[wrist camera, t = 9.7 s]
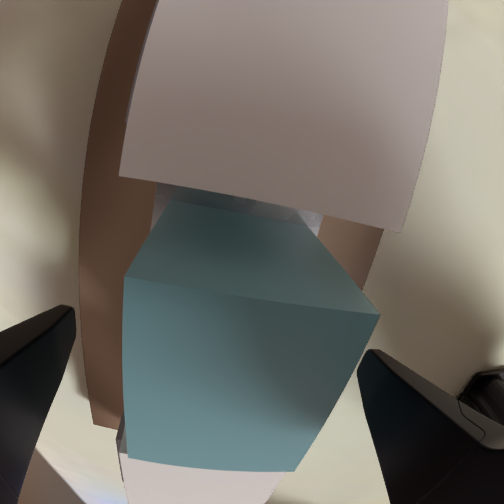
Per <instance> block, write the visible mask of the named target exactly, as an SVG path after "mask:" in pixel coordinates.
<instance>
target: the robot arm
mask: <svg viewBox="0 0 504 504" xmlns="http://www.w3.org/2000/svg"><path fill="white" fill-rule="evenodd" d="M75 337H76V320H75V310H74V308H73V307H71V306H67V305H59V306H56V307H54V308H52V309H50V310H47V311H45V312H43V313H41V314H38V315H36V316H34V317H32V318H30V319H27V320H25V321H23V322H21V323H19V324H16V325H14V326H12V327H10V328H8V329H6V330H3V331H1V332H0V504H17V503H18V497H19V495H20V492H21V488H22V485H23V482H24V478H25V475H26V472H27V469H28V466H29V463H30V460H31V457H32V454H33V451H34V449H35V446H36V443H37V440H38V438H39V435H40V432H41V430H42V427H43V424H44V422H45V419H46V417H47V414H48V412H49V409H50V407H51V404H52V402H53V400H54V397H55V395H56V392H57V390H58V388H59V385H60V383H61V380H62V378H63V375H64V372H65V368H66V365H67V362H68V359H69V356H70V353H71V350H72V347H73V344H74V341H75ZM357 378H358V383H359V388H360V393H361V398H362V403H363V408H364V412H365V416H366V420H367V423H368V426H369V429H370V433H371V436H372V439H373V443H374V446H375V450H376V453H377V457H378V460H379V464H380V467H381V471H382V474H383V478H384V481H385V485H386V489H387V493H388V496H389V500H390V504H504V370H496V371H489V372H480V373H478V374H476V375H475V376H474V377H473V379H472V380H471V382H470V383H469V385H468V386H467V388H466V389H465V391H464V392H463V394H462V395H461V397H460V398H459V400H458V401H457V399H456V398H454V397H452V396H451V395H449V394H448V393H446V392H445V391H443V390H442V389H440V388H438V387H437V386H435V385H434V384H432V383H431V382H429V381H427V380H426V379H424V378H423V377H421V376H420V375H418V374H417V373H415V372H414V371H412V370H410V369H409V368H407V367H406V366H404V365H403V364H401V363H400V362H398V361H397V360H395V359H393V358H392V357H390V356H389V355H387V354H386V353H384V352H383V351H381V350H379V349H369V350H367V351H366V353H365V355H364V357H363V359H362V361H361V363H360V365H359V367H358V369H357Z"/></svg>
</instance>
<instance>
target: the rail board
mask: <svg viewBox="0 0 504 504" xmlns="http://www.w3.org/2000/svg"><path fill="white" fill-rule="evenodd" d="M156 1H157V0H122V3H121V6H120V9H119V12H118V15H117V18H116V21H115V24H114V28H113V31H112V34H111V38H110V41H109V45H108V48H107V52H106V56H105V60H104V64H103V68H102V72H101V76H100V80H99V85H98V89H97V94H96V99H95V104H94V109H93V114H92V120H91V126H90V132H89V138H88V145H87V152H86V160H85V168H84V178H83V188H82V200H81V214H80V234H79V300H80V320H81V334H82V346H83V356H84V365H85V373H86V381H87V388H88V395H89V401H90V407H91V413H92V418H93V424H95V425H99V426H103V427H107V428H111V429H116V430H118V428H119V424H120V420H121V416H122V412H123V411H124V399H123V371H122V321H123V292H124V276H125V274H126V272H127V271H128V269H129V267H130V265H131V264H132V262H133V260H134V258H135V257H136V255H137V253H138V252H139V250H140V248H141V247H142V245H143V243H144V242H145V240H146V238H147V237H148V235H149V233H150V230H151V222H152V214H153V207H154V200H155V194H156V187H157V182H154V181H148V180H141V179H135V178H128V177H122V176H119V170H120V163H121V156H122V150H123V144H124V138H125V132H126V127H127V123H125V119H126V114H127V109H128V104H129V99H130V95H131V90H132V86H133V81H134V77H135V73H136V69H137V65H138V61H139V57H140V54H141V50H142V46H143V43H144V39H145V36H146V32H147V29H148V26H149V22H150V19H151V16H152V13H153V10H154V7H155V4H156ZM383 230H384V229H382V228H378V227H374V226H370V225H365V224H361V223H357V222H353V221H349V220H345V219H340V218H336V217H332V216H327V215H323V218H322V221H321V224H320V228H319V231H318V235H317V238H318V239H319V240H320V241H321V242H322V244H323V245H324V246H325V247H326V248H327V249H328V251H329V252H330V253H331V254H332V255H333V257H334V258H335V259H336V260H337V261H338V263H339V264H340V265H341V266H342V267H343V269H344V270H345V271H346V272H347V274H348V275H349V276H350V277H351V278H352V280H353V281H354V282H355V283H356V285H357V286H358V287H359V288H360V290H361V291H362V289H363V286H364V284H365V281H366V279H367V276H368V273H369V270H370V268H371V265H372V262H373V259H374V257H375V254H376V251H377V248H378V245H379V242H380V239H381V236H382V233H383Z"/></svg>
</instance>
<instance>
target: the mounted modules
mask: <svg viewBox="0 0 504 504" xmlns="http://www.w3.org/2000/svg"><path fill="white" fill-rule="evenodd" d="M447 14H448V1H447V0H157V1H156V4H155V7H154V10H153V13H152V16H151V19H150V22H149V26H148V29H147V32H146V36H145V39H144V43H143V46H142V50H141V54H140V57H139V61H138V65H137V69H136V73H135V77H134V81H133V86H132V90H131V95H130V99H129V104H128V109H127V114H126V119H125V123H127V127H126V132H125V138H124V144H123V150H122V156H121V163H120V170H119V176H122V177H128V178H135V179H141V180H148V181H154V182H160V183H166V184H172V185H178V186H184V187H189V188H195V189H201V190H206V191H211V192H217V193H222V194H227V195H233V196H238V197H243V198H248V199H253V200H258V201H263V202H268V203H273V204H277V205H282V206H287V207H291V208H296V209H301V210H305V211H310V212H314V213H319V214H323V215H327V216H332V217H336V218H340V219H345V220H349V221H353V222H357V223H361V224H365V225H370V226H374V227H378V228H382V229H386V230H389V231H393V232H397V233H401V231H402V228H403V224H404V221H405V218H406V215H407V212H408V209H409V206H410V202H411V199H412V196H413V192H414V189H415V185H416V182H417V178H418V175H419V171H420V167H421V163H422V160H423V156H424V152H425V148H426V143H427V139H428V135H429V131H430V126H431V121H432V117H433V112H434V107H435V102H436V96H437V91H438V85H439V79H440V73H441V66H442V60H443V52H444V44H445V35H446V26H447ZM116 444H117V451H118V457H119V463H120V469H121V475H122V480H123V482H124V485H125V490H126V495H127V500H128V504H265V502H266V501H267V500H268V498H269V497H270V495H271V494H272V492H273V491H274V490H275V488H276V487H277V485H278V484H279V482H280V481H281V479H282V478H283V476H284V475H285V473H286V472H245V471H224V470H210V469H199V468H190V467H181V466H174V465H166V464H160V463H154V462H148V461H142V460H137V459H132V458H128V452H127V442H126V430H125V416H124V411H123V412H122V416H121V420H120V424H119V428H118V432H117V437H116Z"/></svg>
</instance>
